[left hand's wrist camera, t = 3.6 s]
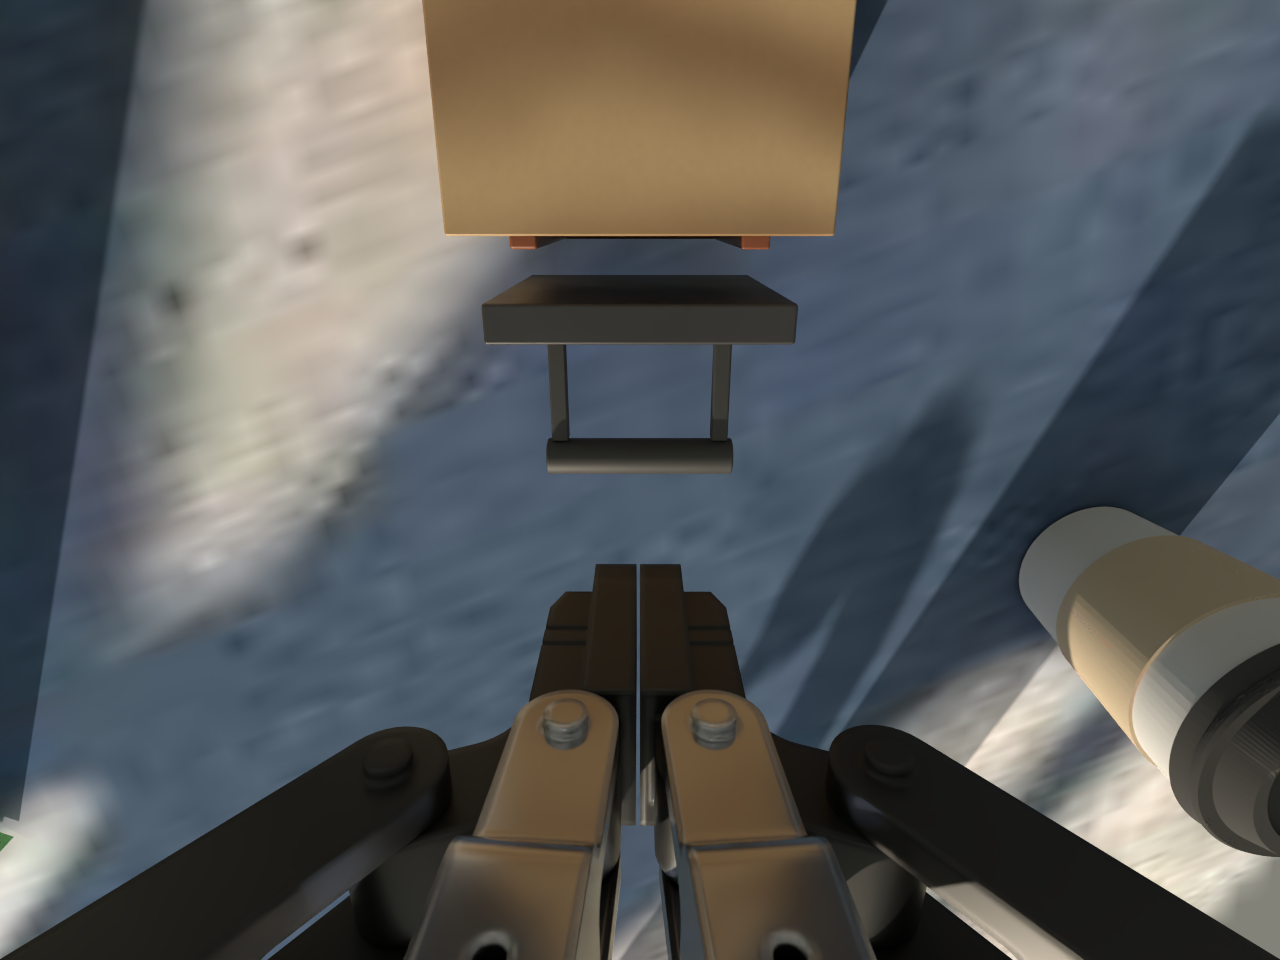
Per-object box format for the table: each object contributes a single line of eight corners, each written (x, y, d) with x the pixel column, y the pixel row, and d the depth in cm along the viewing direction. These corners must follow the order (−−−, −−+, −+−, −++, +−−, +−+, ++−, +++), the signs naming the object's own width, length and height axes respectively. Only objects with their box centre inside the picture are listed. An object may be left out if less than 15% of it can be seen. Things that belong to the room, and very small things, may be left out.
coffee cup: (1212, 565, 35) (1585, 795, 21) (1061, 671, 38) (1309, 941, 24) (1115, 449, 33) (1461, 621, 19) (961, 570, 36) (1170, 801, 22)
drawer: (740, 427, 32) (781, 515, 23) (539, 427, 32) (497, 515, 23) (774, -202, 24) (860, -467, 15) (504, -202, 24) (417, -467, 15)
